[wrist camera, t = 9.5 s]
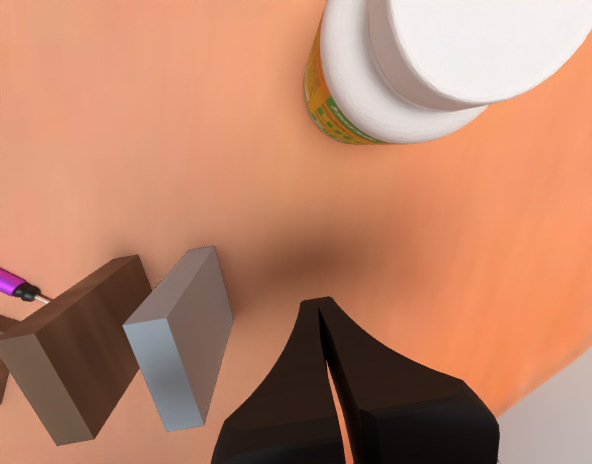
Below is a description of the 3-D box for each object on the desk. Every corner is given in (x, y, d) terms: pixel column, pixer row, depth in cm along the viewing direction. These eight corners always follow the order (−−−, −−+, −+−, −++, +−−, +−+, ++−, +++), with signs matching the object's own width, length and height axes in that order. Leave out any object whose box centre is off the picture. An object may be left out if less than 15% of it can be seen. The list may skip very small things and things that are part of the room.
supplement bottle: (291, 131, 14) (311, 106, 5) (316, 11, 13) (410, -341, 4) (389, 154, 15) (565, 170, 6) (424, 42, 13) (743, -187, 4)
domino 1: (138, 254, 16) (34, 333, 9) (166, 326, 17) (94, 439, 11) (112, 259, 16) (-10, 341, 9) (142, 331, 17) (56, 446, 11)
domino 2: (214, 245, 16) (166, 318, 9) (233, 318, 18) (204, 425, 11) (188, 250, 16) (122, 325, 9) (210, 322, 18) (166, 431, 11)
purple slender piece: (-136, 219, 15) (145, 352, 18) (-169, 221, 13) (139, 362, 17) (-108, 177, 15) (167, 318, 18) (-138, 175, 14) (163, 326, 17)
